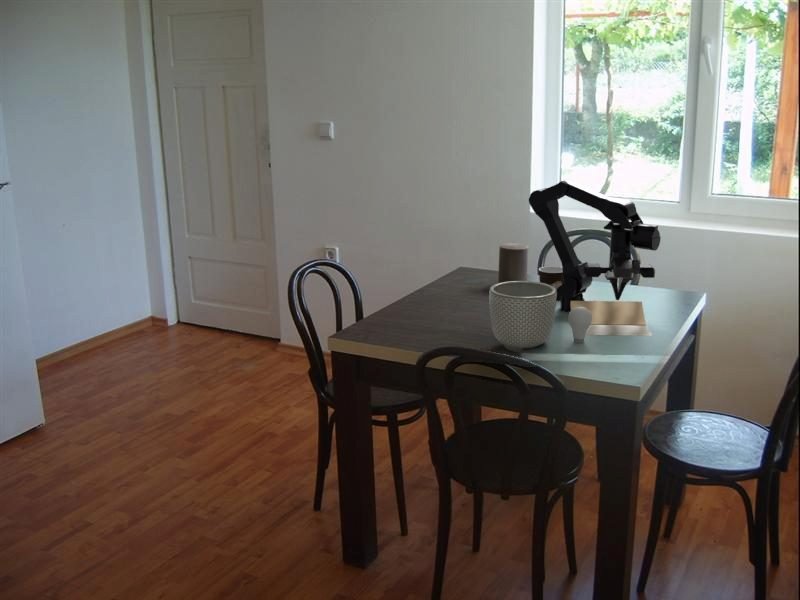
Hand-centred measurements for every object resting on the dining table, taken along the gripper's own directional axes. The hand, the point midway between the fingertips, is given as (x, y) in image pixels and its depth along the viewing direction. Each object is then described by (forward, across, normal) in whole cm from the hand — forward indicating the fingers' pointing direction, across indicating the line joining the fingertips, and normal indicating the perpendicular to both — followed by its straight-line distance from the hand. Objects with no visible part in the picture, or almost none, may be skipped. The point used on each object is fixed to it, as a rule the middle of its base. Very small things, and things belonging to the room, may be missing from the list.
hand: (617, 299), depth 234 cm
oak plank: (+4, -3, -2) cm, 6 cm away
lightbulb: (+7, -13, -22) cm, 27 cm away
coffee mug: (+7, -15, +23) cm, 28 cm away
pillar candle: (+7, -28, +41) cm, 50 cm away
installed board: (+7, -3, -12) cm, 14 cm away
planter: (+7, -28, -23) cm, 37 cm away
